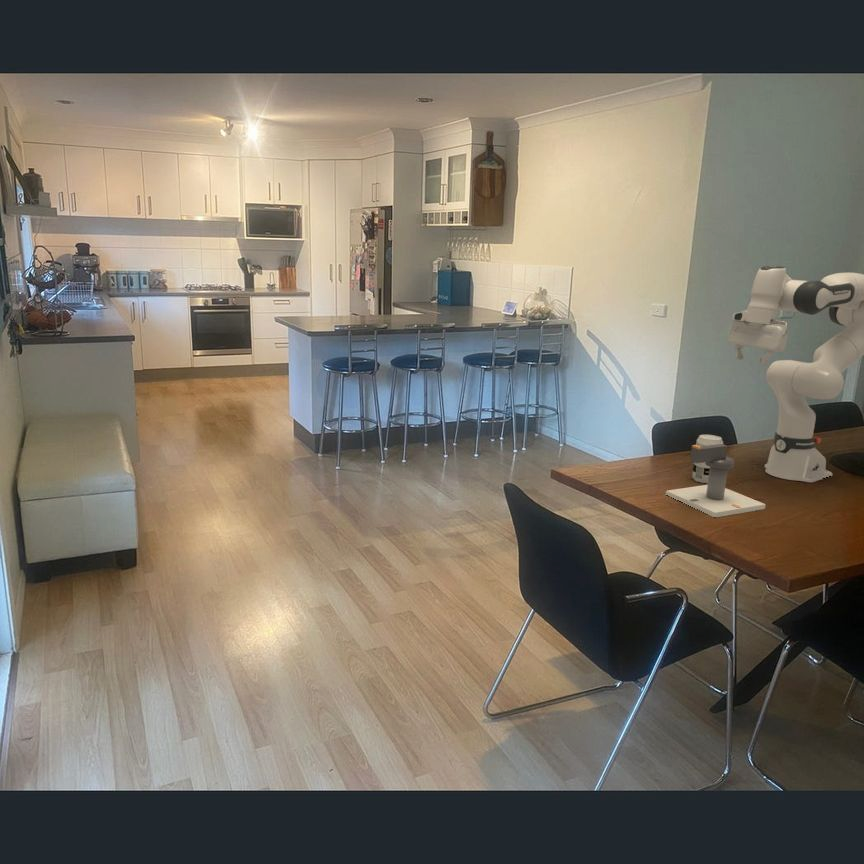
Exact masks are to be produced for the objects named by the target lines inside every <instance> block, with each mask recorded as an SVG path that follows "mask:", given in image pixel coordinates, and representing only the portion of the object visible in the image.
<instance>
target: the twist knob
mask: <svg viewBox="0 0 864 864" xmlns="http://www.w3.org/2000/svg"><path fill="white" fill-rule="evenodd" d="M727 450H728V445H726V444H724V443H723V444H716V445H708V446H697V445H696V444H693V445H691V453H690V460H689V461H690V462H692V463H693V464H694V463H702V462H705V464H706V465H707V466H709V467H713V468H718V469H728V470H732V469H733V468H734V466H735V465H734V464H735V459H734V458H732V457H729V456H727Z"/></svg>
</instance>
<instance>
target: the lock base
mask: <svg viewBox="0 0 864 864" xmlns="http://www.w3.org/2000/svg"><path fill="white" fill-rule="evenodd" d="M728 470H729V469H718V468H713V467H710V470H709V477H708V484H702V485H697V486H690V487H683V488H682V487H681V488H676V489H669V490H666V491H665V496H666V495H668V496H670V497H669V498H671V497H672V498H671V499H673V498H674V499H673V500H675V499H676V501H677V500H679V501H681V502H683V503H682V504H684V503H685V504H684V505H686V504H687V505H686V506H688V505H689V507H690V506H691V507H690V508H692V507H693V508H692V509H694V508H695V509H694V510H697V509H698V510H697V511H699V510H700V511H699V512H701V511H702V512H701V513H703V512H704V513H703V514H705V513H706V515H707V514H708V515H707V516H710V517H712V518H714V517H716V518H720V517H727V516H733V515H738V514H744V513H750V512H756V510H757V511H763V510H766V506H767V505H766V504H765V503H763V502H761V501H759V500H755V499H753V498H751V497H748V496H746V495H743V494H742V493H739V492H737V491H734V490H732V489H730V488H729V489H728V488H726V485H727V484H726V483H727V477H728ZM668 496H667V497H668ZM679 501H678V502H679ZM681 502H680V503H681Z"/></svg>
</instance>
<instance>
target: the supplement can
mask: <svg viewBox="0 0 864 864" xmlns="http://www.w3.org/2000/svg"><path fill="white" fill-rule="evenodd" d="M716 444H723V445H724V441H723V438H722V437H721V436H718V435H713V434H700V435H698V437H697V439H696V444H695V445H697V446H708V445H716ZM692 467H693V468H692V474H691V478H692V479H693V480H694V481H695V482H697V483H699V482H700V483H699V484H704V483H706V484H705V485H708V477H709V470H710V467H709V466H707V465H706V464H705V462H702V463H694V462H693V466H692Z"/></svg>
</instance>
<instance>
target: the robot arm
mask: <svg viewBox="0 0 864 864" xmlns="http://www.w3.org/2000/svg"><path fill="white" fill-rule="evenodd" d="M750 297H751V299H750V302H749V303H748V304H747V305H748V306H747V309H746V310H745V309H744V310H742V311H740V312H739V311H738V312H734V313H732V316H731V320H733V321H732V322H731V323H730V324H729V328H728V331H727V335H726V341H727V343H728V344H732V345H734V350H735V360H739V361H743V360H744V357H745V355H744V354H743V348H744V347H750V348H754V349H760V350H764V356H763V357H762V358H761V357H760V359H759V363H758V364H760V365H765V366H766V365H767V364H768V361H769V359H770V358H771V357H772V356H773V355H774V352H777V353H782V352H784V351H785V350H786V346H787V340H788V330H789V326H788V324H787V322H786V321H784V320H778V314H779V311H784V312H791V313H793V312H794V313H801V314H805V315H806V314H807V315H810V316H811V315H817V314H819V313H821V312H822V311H824V310H825V309H826V308H828V316H829V319H830V321H831V322H832V323H834V324H836V325H839V326H846V327H845V329H843V330H842V331H840V332H839V333H837V334H836V335H834V336H833V337H831V338H830V339H828V340H827V341H826V342H824V343H822V345H820V346H818V348H816V349H815V350H814V353H813V357H812V360H813V361H812V362H804V361H798V360H792V359H783V360H775V361H773V362H772V363H771V364H770V365H769V367H768V368H767V370H766V376H765V377H766V382H767V384H768V386H769V387H770V388H771V389H772V390H773V393H774V395H775V397H776V400H777V405H778V420H777V426H776V427H777V428H776V432H775V433H774V435H773V443H774V444H773V445H772V446H771V447H770V448H771V449H770V452H769V455H768V459H767V462H766V463H765V464H764V469H765V470H764V471H765V473H766V474H768V475H769V476H772V477H775V478H779V479H782V480H788V481H799V482H803V483H804V482H805V483H816V482H817V481H821V480H824V479H823V478H825V479H827V478H826V477H828V478H830V477H829V476H831V477H833V473H832V471H829V470H828V469H826V468H827V467H826V466H827V459H826V457H825V455H824V456H823V454H822V453H821V452H820V451H819V450H818V449H817V448H816V444H820V443H821V441H822V439H821V437H818V436H814V430H815V424H816V420H817V419H816V418H817V417H816V416H817V415H816V412H815V411H814V410H813V409H812V408H811V407H810V406H809V404H808V402H807V398H811V399H815V400H832V399H835V398H836V397H838V396H839V395H840V394H841V392H842V391H843V389H844V385H845V383H844V382H845V381H844V376H843V372H845V371H846V370H847V369H848V368H849V367H850V366H852V365H853V364H855V363H856V362H857V361H859V360H860V359H861V358H862V357H863V356H864V273H859V272H836V273H832V274H829V275H827V276H824V277H822V279H821V280H802V279H799V280H798V279H792V278H791V277H790V276H789V275H788V274H787V268H786V267H785V266H782V265H763V266H761V267H760V268H759V269H758V271H757V273H756V274H755V277H754V280H753V283H752V288H751V292H750Z"/></svg>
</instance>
